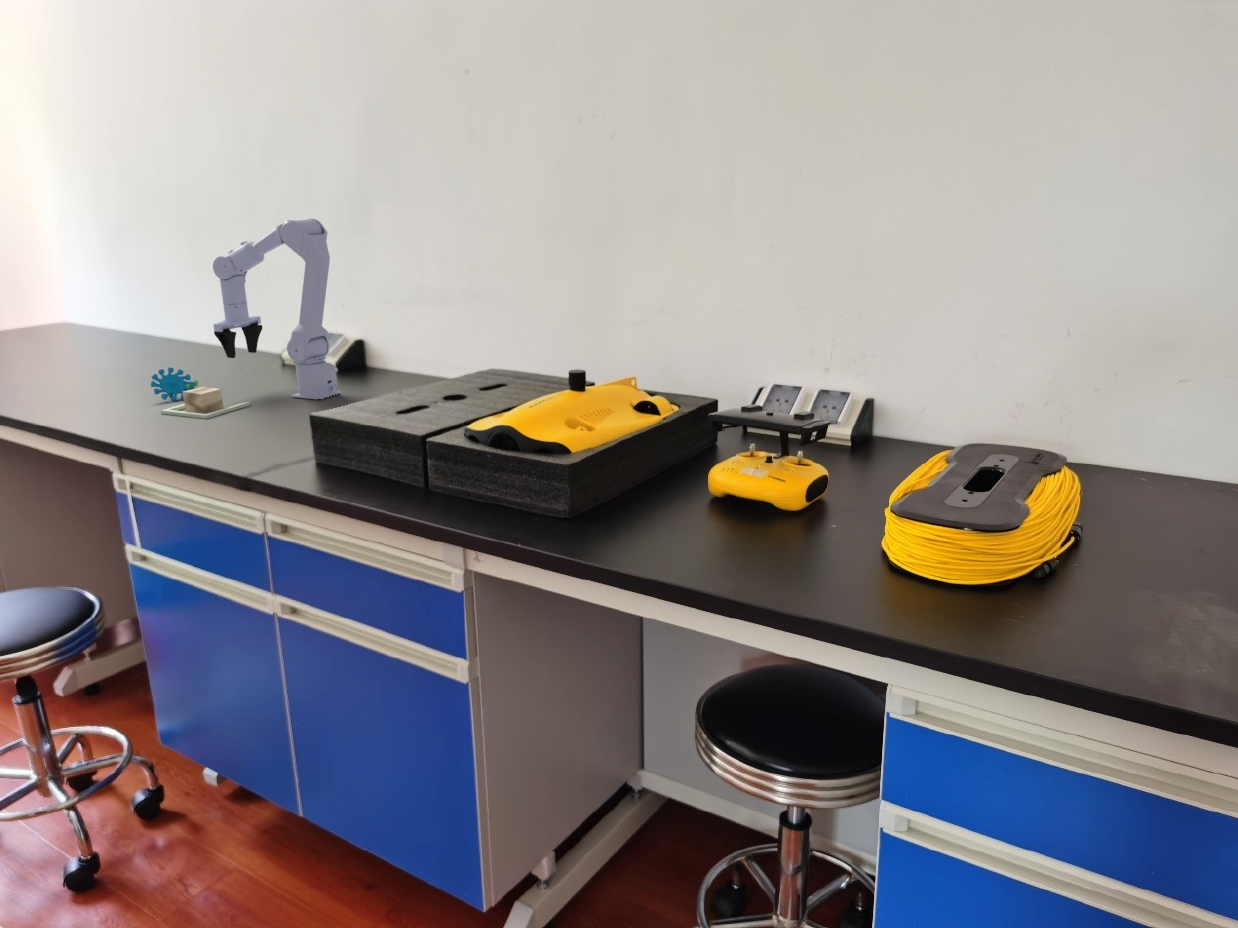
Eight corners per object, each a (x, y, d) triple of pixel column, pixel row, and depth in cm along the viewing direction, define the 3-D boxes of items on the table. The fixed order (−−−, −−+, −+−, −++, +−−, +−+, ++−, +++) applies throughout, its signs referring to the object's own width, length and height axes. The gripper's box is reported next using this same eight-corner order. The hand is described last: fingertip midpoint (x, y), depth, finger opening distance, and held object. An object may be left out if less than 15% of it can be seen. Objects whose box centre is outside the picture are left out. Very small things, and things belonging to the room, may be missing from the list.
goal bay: (250, 405, 225) (250, 402, 225) (206, 418, 213) (206, 415, 212) (206, 400, 230) (206, 397, 230) (161, 413, 218) (160, 410, 217)
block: (223, 408, 222) (220, 388, 221) (203, 414, 217) (200, 394, 216) (206, 406, 225) (203, 386, 223) (185, 411, 220) (182, 391, 218)
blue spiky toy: (152, 398, 226) (149, 365, 230) (150, 411, 231) (147, 378, 235) (200, 398, 232) (196, 366, 236) (198, 411, 237) (194, 379, 241)
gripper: (243, 298, 242) (250, 349, 247) (201, 306, 230) (209, 359, 234) (264, 300, 240) (270, 350, 244) (223, 307, 227) (230, 360, 231)
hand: (242, 355), depth 239 cm, fingers open, 7 cm apart
